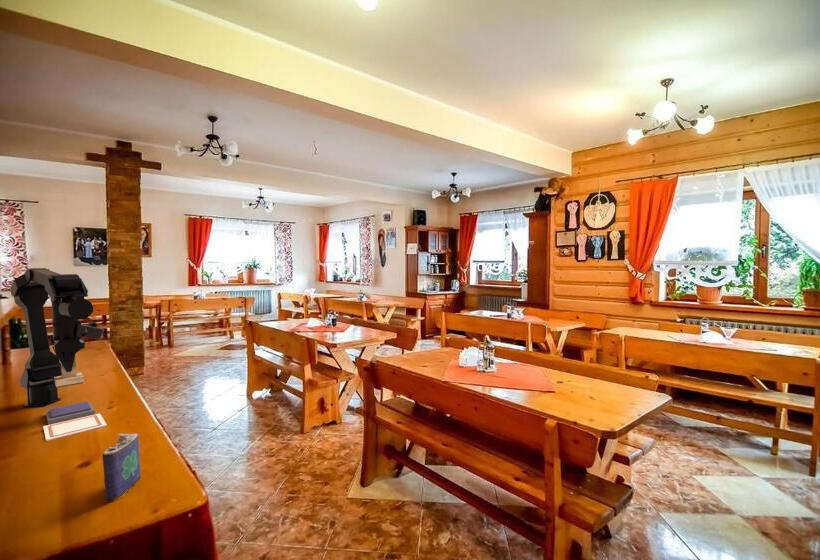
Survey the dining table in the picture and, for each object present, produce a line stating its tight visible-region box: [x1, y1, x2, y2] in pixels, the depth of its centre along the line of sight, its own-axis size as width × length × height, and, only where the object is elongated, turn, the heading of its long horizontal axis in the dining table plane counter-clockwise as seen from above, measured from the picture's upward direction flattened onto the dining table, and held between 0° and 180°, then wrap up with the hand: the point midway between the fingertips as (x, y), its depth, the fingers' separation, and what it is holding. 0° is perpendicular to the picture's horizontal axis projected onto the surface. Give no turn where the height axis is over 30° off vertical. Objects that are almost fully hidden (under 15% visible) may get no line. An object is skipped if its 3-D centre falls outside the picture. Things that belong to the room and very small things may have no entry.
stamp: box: [54, 356, 85, 389], centre depth 112 cm, size 6×6×8 cm
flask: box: [101, 433, 142, 503], centre depth 75 cm, size 9×3×11 cm, turn 8°
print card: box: [42, 413, 108, 442], centre depth 104 cm, size 12×12×1 cm
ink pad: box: [45, 401, 96, 425], centre depth 113 cm, size 10×10×2 cm
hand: (68, 370), depth 112 cm, fingers closed on stamp, 3 cm apart
